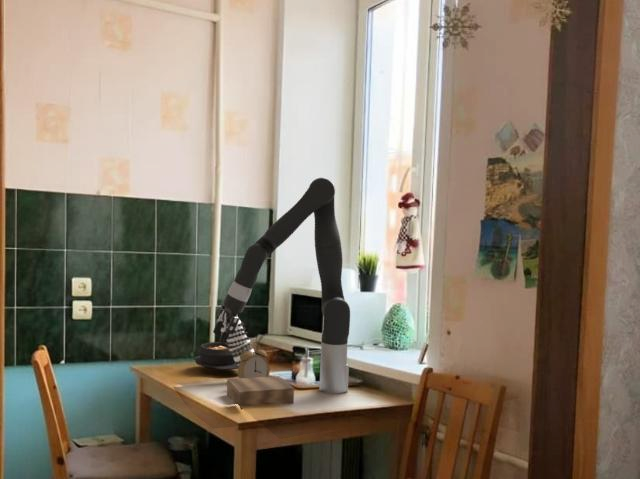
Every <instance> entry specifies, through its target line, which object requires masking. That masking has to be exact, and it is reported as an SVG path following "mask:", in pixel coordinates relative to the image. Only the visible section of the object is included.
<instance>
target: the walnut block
mask: <svg viewBox="0 0 640 479" xmlns="http://www.w3.org/2000/svg"><path fill="white" fill-rule="evenodd" d="M226 386H227V387H226V388H227V390H226V396H228V397H229V399H230V400H232V401H233V402H234V404H235V403H236V404H238V405H239V406H240V407H251V406H253V405H255V406H271V404H273V405H286V404H287V403H288V404H289V403H292V404H294V403H295V402H294V401H295V399H294V398H295V388H294V386H292V385H291V384H290V383H288V382H287V381H286V380H285V379H284V378H282V377H281V376H280V375H272V376H270V375H269V376H268V377H253V378H239V377H237V378H227V384H226ZM288 404H287V405H288ZM289 405H290V404H289Z"/></svg>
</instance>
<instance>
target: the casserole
mask: <svg viewBox="0 0 640 479" xmlns="http://www.w3.org/2000/svg"><path fill="white" fill-rule="evenodd" d="M227 346H228V345H227V344H225V343H222V342H220V341H214V342H213V341H210V342H205V343H202V344H201V345H200V347H199V349H198V350H197V352H198V354H199V355H198V356H194V357H193V360H194V361H195V364H196V365H198V366H201V367H204V368H205V369H209V370H217V371H219V370H223V371H228V370H238V368H237V366H238V365H236V364H235V362H236V361H235V360H234V357H233V355H232V352H231V351H229V349H230V348H227Z"/></svg>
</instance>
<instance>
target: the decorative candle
mask: <svg viewBox="0 0 640 479" xmlns="http://www.w3.org/2000/svg"><path fill="white" fill-rule="evenodd" d="M236 317H237V318H239V316H238V314H237V315H236ZM222 325H223V326H222V328H221V331H220V336H222V333H223V331H224V327H225V326H224V324H222ZM244 325H245V323H244V322H242V321H241V319H239V321H238V324H237V326H236V328H235V331H234V333H233V334H229V336H228V338H227V341H226V343H225V344H227V345H228V346H227V348H230V349H229V351H231V352H232V355H233V357H234V360H235V361H236V362H235V364H236V365H238V366H239V364H240V362H241V359H240V355H241V354H242V353H243V351H245V349H246V348H247V347H248V346H249V345H251V344H252V343H251V339H250V337H249V336H247V335H248V331H246V329H247V328H246V327H243V326H244ZM232 329H233V328H232ZM252 346H253V345H252ZM252 346H250V347H249V348H248V350H247V351H251V352H252V353H253V352H255V349H254V348H253V347H252ZM254 354H255V353H254ZM238 366H237V368H238Z"/></svg>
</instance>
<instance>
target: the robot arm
mask: <svg viewBox="0 0 640 479" xmlns="http://www.w3.org/2000/svg"><path fill="white" fill-rule="evenodd" d="M335 195H336V188H335V185H334V183H333V182H332V181H331V180H330V179H328V178H326V177H318V178H315V179H314V180H313V181H312V182H311V183H310V184H309V187H308V188H307V189H306V190H305V192H304V194H303V195H302V196H301V197H300V199H299V200H298V201H297V202H296V203H295V204H294V205H293V206H292V207H291V208H289V210H288V211H286V212H285V213H284V214H283V215H281V217H280V218H278V219H277V220H276V221H275V222H274V223H273V224H271V226H270V227H269V228H268V229H266V231H265V233H264V235H261V237H260V238H259V239H258V240H256V241H255V243H253V244H251V245H250V246H249V247H248V248H247V250H246V252H245V254H244V257H243V260H242V262H241V265H240V268H239V270H238V271H237V273H236V275H235V278H234V279H233V281H232V283H231V285H230V287H229V289H228V291H227V294H226V295H225V297H224V300H223V302H222V305H221V307H220V309H219V310H218V313H217V315H216V317H215V319H216V324H215V326H214V329H213V330H212V333H213V334H215V335H220V334H221V328H222V326H223V325H222V324H224V326H225V327H224V331H223V333H222V335H220V338H219V342H222V343H226V341H227V338H228V336H229V334H233V333H234V331H235V328H236V326H237V324H238V321H239V320H240V317H238V318H237V317H236V315H238V313H243V311H244V309H245V307H246V305H247V303H248V300H249V298H250V297H251V293H252V290H253V288H254V286H255V283H256V282H257V280H258V274H259V273H260V270H261V268H262V266H263V265H264V263H265V261H266V260H267V259H268V258H269V257H270V256H271V255H272V254H273V253H274V251H275V250H276V249H277V248H278V247H280V246H281V245H282V244H284V242H286V241H288V240H287V239H289V238H290V237H291V236H292V235H293V234H294V233H295V231H296V230H297V229H298V228H299V227H300V226H301V225H302V224H303V223H304V222H305V221H306V220H307V219H308V218H309V217H310V216H311V215H312V214H313V216H314V248H315V249H314V250H315V257H316V263H317V264H316V265H317V270H318V275H319V279H320V280H319V281H320V287H321V313H322V316H323V324H322V325H323V327H322V334H321V343H320V344H321V346H320V347H321V350H320V369H319V391H320V392H321V393H324V394H333V395H337V394H338V395H339V394H343V393H348V392H349V371H350V370H349V369H350V366H349V364H348V362H347V361H348V340H349V335H350V328H351V327H350V325H351V323H350V322H351V308H350V305H349V303H348V302H347V301H346V299H345V295H344V292H343V284H342V271H343V252H342V251H343V250H342V249H343V248H342V242H341V236H340V232H339V227H338V224H337V220H336V212H335ZM232 328H233V329H232Z"/></svg>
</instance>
